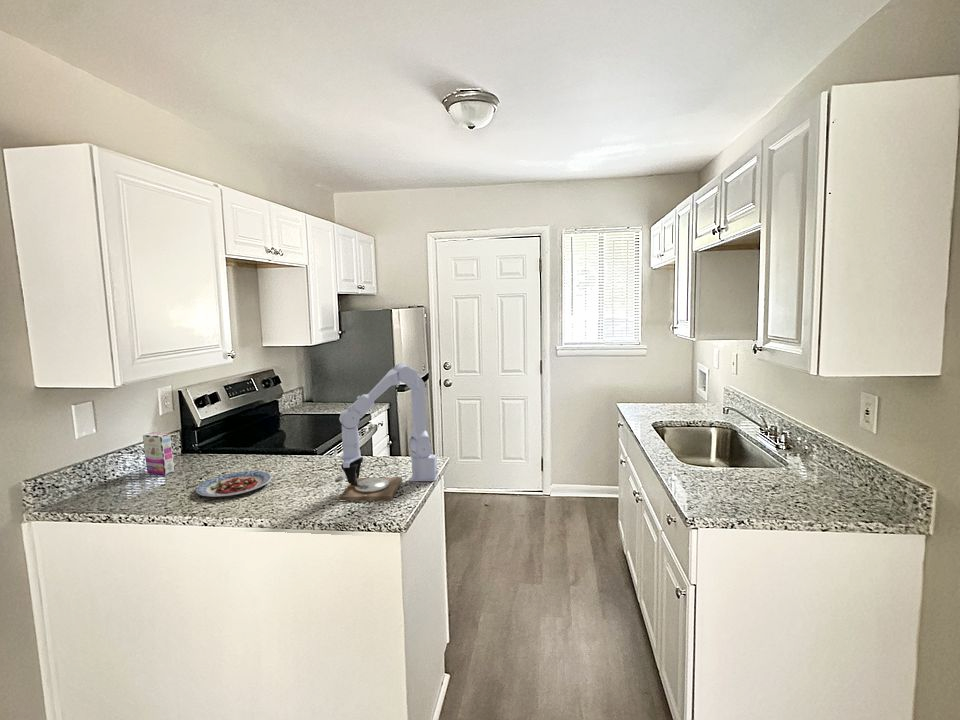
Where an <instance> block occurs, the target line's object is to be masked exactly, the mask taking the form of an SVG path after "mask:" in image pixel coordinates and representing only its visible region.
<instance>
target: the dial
mask: <svg viewBox="0 0 960 720" xmlns="http://www.w3.org/2000/svg"><path fill="white" fill-rule="evenodd" d="M369 478H370V479H365V480H362V481H359V482H357V473H356V477H355V483H351V484H350V483H349V484H348V486H349V487H355V490H356V491H357V492H361V493H373V492H378V491H382V490H384V489H386V488H387V487H388V486H389V481H388V480H386V479H383V478H384V477H369Z"/></svg>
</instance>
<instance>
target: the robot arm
mask: <svg viewBox="0 0 960 720" xmlns="http://www.w3.org/2000/svg"><path fill="white" fill-rule="evenodd" d="M400 382H401V383H402V384H404V385H406V386H407V387H408V388H409V389H410V394H411V397H410V398H411V419H412V420H411V424H412V425H411V426H412V428H411V429H412V430H411V432H410V439H409V441H408V447H409V450H411V453H410V454H411V455H410V460H411V461H410V462H411V474H412V475H411V477H410V479H409V482H435V481H436V479H437V476H438V475H439V473H438V461H437V455H436V454H431V453H432V451H433V446H432V443H431V442H430V436H429V433H428V431H427V412H426V411H427V409H426V406H427V405H426V384H425V382H424V380H423V379H422V377H421V375H420V374H419V372H418V370H416V369H414V368H413V367H412V366H408V365H406V364H404V363H398V364H396V365H395V366H394V367H393V368H391V369H390V370H388V372H387V373H386V374H385V375H384V376H383V377H382V378H381V380H379V382H378V383H376V385H375V386H374V387H373V388H372V389H371V390H370V391H369V392H368V393H365V394H364V393H363V394H361V396H360V395H358V396H357V397H356V400H355V401H354V402H353V403H352V404H351V405H349V406H347V407H346V409H345V410H343V411H342V412H341V413H340V415H339V418H338V421H339V422H340V424H341V441H342V451H343V452H342V455H340V460H341V459H343V461H342V464H341V465H340V468H341V470H342V472H343V471H344V472H345V474H346V481H347V482H348V484H350V483H355V477H356V473H357V478H360V471H361V466H362V464H363V463H362V461H363V457H364V456H362V455H361V454H362V453H361V452H362V451H361V449H360V439H359V438H360V437H359V435H360V434H359V429H358V426H359V423H360V419H362V418H363V417H364V416H365V415H366V414H367V413H369V412H370V410H371V409H372V408H373V407H375V401H376V400H377V399H378V398H379V397H380V396H381V395H383V394H384V393H385V392H386V391H387V390H388V389H389V388H390V387H391V386H398V385H401V383H400ZM361 463H362V464H361Z"/></svg>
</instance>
